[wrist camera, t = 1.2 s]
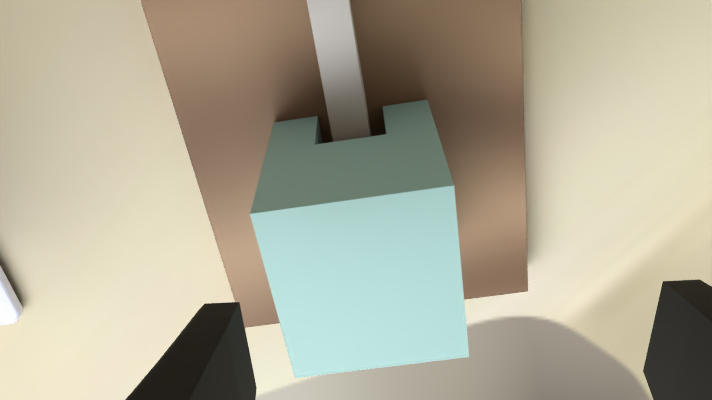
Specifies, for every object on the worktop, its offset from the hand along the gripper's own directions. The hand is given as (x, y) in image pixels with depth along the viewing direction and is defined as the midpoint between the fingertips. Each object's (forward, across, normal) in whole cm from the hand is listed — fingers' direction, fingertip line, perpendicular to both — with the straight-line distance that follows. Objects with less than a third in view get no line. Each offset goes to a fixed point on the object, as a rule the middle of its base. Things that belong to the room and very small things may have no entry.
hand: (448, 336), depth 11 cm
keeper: (+9, +2, +2) cm, 9 cm away
